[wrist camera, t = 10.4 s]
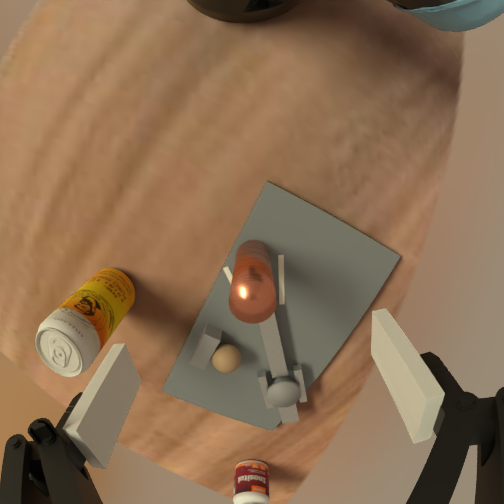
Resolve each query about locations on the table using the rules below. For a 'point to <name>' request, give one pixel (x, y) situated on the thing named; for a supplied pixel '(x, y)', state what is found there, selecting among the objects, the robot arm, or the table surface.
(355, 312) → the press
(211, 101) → the table surface
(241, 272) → the lever
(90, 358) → the beer can
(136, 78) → the table surface
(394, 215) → the table surface
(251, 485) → the pill bottle
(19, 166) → the table surface
